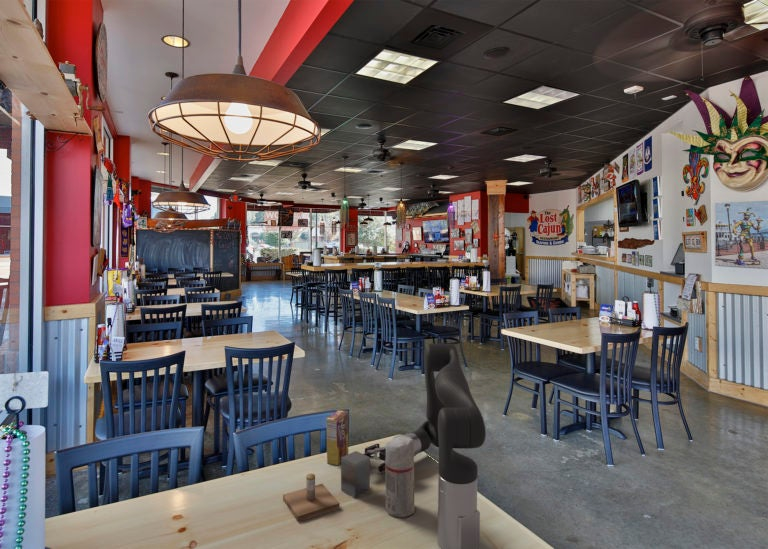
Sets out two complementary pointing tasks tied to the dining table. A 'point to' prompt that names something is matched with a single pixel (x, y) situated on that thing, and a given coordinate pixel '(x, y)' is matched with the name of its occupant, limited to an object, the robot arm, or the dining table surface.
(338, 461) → the candy box
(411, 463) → the white spray can
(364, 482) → the brushed steel block
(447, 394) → the robot arm
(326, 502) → the wooden square base
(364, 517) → the dining table surface
